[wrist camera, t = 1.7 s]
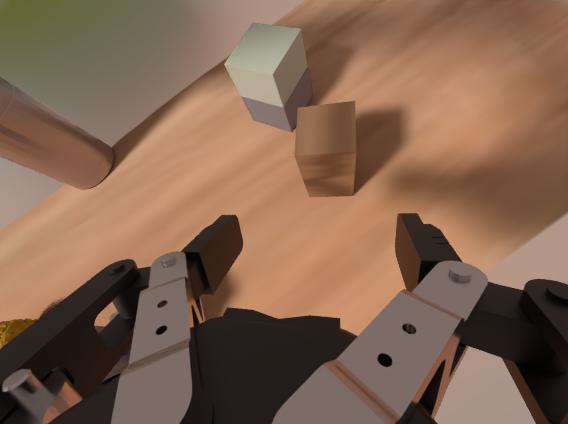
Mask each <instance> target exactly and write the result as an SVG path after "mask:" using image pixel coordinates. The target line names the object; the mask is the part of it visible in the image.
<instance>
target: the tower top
mask: <svg viewBox="0 0 568 424" xmlns="http://www.w3.org/2000/svg"><path fill="white" fill-rule="evenodd" d="M224 65H225V67H226V69H227V71H228V73H229V75H230V77H231V79H232V80H233V82H234V84H235V86H236V88H237V90H238V92H239V94H240V96H242V97H246V98H250V99H253V100H257V101H261V102H265V103H268V104H272V105H276V106H280V107H284V106H285V104H286V102H287V101H288V99H289V97H290V96H291V94H292V92H293V91H294V89H295V87H296V85H297V84H298V82H299V80H300V79H301V77H302V75H303V74H304V72H305V70H306V69H307V67H308V66H307V60H306V54H305V48H304V42H303V36H302V30H301V29H299V28H291V27H283V26H275V25H266V24H259V23H252V24H251V26H250V27H249V29H248V30H247V32H246V33H245V34H244V36H243V37H242V39H241V41H240V42H239V43H238V45H237V46H236V48H235V49H234V51H233V52H232V54H231V55H230V56H229V58H228V59H227V61H226V62H225V64H224Z"/></svg>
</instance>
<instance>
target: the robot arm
mask: <svg viewBox="0 0 568 424" xmlns="http://www.w3.org/2000/svg"><path fill="white" fill-rule="evenodd" d="M0 157H2V158H4V159H7V160H9V161H12V162H14V163H17V164H19V165H21V166H24V167H26V168H29V169H31V170H34V171H36V172H39V173H41V174H44V175H46V176H49V177H51V178H53V179H56V180H58V181H61V182H63V183H65V184H68V185H70V186H73V187H75V188H78V189H89V188H91V187H93V186H95V185H97V184H98V183H100V182H101V181H102V180H103V179H104V178H105V177H106V175H107V174H108V173H109V171H110V169H111V167H112V165H113V161H114V153H113V150H112V148H111V147H110V146H108V145H107V144H105V143H103V142H102V141H101V140H99V139H97V138H96V137H94V136H93V135H91V134H89V133H88V132H86V131H85V130H83V129H82V128H80V127H79V126H77V125H76V124H74V123H72V122H71V121H69V120H68V119H66V118H65V117H63V116H61V115H60V114H58V113H57V112H55V111H54V110H52V109H50V108H49V107H47V106H46V105H44V104H42V103H41V102H39V101H38V100H36V99H35V98H33V97H32V96H30V95H29V94H27V93H25V92H24V91H22V90H21V89H19V88H18V87H16V86H15V85H13V84H11V83H10V82H8V81H6V80H5V79H3V78H2V77H0ZM242 248H243V239H242V234H241V230H240V226H239V221H238V218H237V216H236V215H221V216H220V217H219V218H218V219H217V220H216V221H215V222H214V223H213V224H212V225H210V226H208V227H206V228H205V229H204V230H202V231H201V232H200V233H199V235H197V236H196V237H195V239H193V240H192V241H191V242H190V243H189V244H188V245H187V246H186V247H185V248H184V249H183V250H182V251H181V252H171V253H167V254H165V255H162V256H161V257H159V258H157V259H156V260H155V261H154V262H153V263H152V265H151V267H145V268H139V269H138V268H137V265H136V263H135V261H134V260H131V259H126V260H121V261H118V262H115V263H113V264H111V265H109V266H107V267H106V268H104V269H103V270H102V271H100V272H99V273H98V274H96V275H95V276H94V277H93V278H91V279H90V280H89V281H87V282H86V283H85V284H83V285H82V286H81V287H80V288H78V289H77V290H76V291H74V292H73V293H72V294H71V295H69V296H68V297H67V298H65V299H64V300H63V301H61V302H60V303H59V304H58V305H56V306H55V307H54V308H52V309H51V310H50V311H49V312H47V313H46V314H45V315H43V316H42V317H41V318H39V319H38V320H37V321H36V322H34V323H33V324H32V325H30V326H29V327H28V328H27V329H25V330H24V331H23V332H21V333H20V334H19V335H17V336H16V337H15V338H14V339H12V340H11V341H10V342H8V343H7V344H6V345H5V346H3V347H2V348H1V349H0V424H437V422H436V421H435V420H434V418H435V416H436V414H437V411H438V409H439V407H440V405H441V402H442V400H443V397H444V394H445V392H446V390H447V387H448V385H449V383H450V381H451V380H452V378H453V376H454V374H455V372H456V370H457V368H458V366H459V364H460V362H461V361H462V359H463V357H464V355H465V353H466V351H467V349H468V347H469V346H470V347H473V348H476V349H479V350H482V351H484V352H487V353H490V354H493V355H496V356H499V357H501V358H502V359H503V361H504V363H505V365H506V367H507V369H508V370H509V372H510V374H511V376H512V378H513V380H514V382H515V384H516V386H517V388H518V390H519V392H520V394H521V395H522V398H523V399H524V401H525V403H526V405H527V407H528V409H529V411H530V413H531V415H532V416H533V419H534V421H535V422H536V424H568V285H567V284H564V283H561V282H557V281H553V280H546V279H534V280H530V281H528V282H527V283H526V284H525V287H524V289H523V290H519V289H515V288H511V287H506V286H502V285H498V284H494V283H491V282H488V279H487V277H486V275H485V274H484V273H483V272H482V271H481V270H479V269H478V268H476V267H474V266H472V265H469V264H467V263H463V262H462V261H461V259H460V258H459V256H458V255H457V253H456V252H455V250H454V249H453V248H452V246H451V245H450V244H449V242H448V240H447V239H446V238H445V236H444V235H443V233H442V232H441V230H439V229H438V228H436V227H435V226H433V225H431V224H423V222H422V221H421V219H420V217H419V216H418V214H417V213H402V214H398V217H397V227H396V239H395V253H396V257H397V261H398V264H399V267H400V270H401V273H402V277H403V280H404V283H405V286H406V290H405V289H404V290H402V291H400V292H399V293H398V294H397V295H396V296H395V297H394V299H393V300H392V301H391V302H390V303H389V304H388V305H387V306H386V307H385V308H384V309H383V310H382V311H381V312H380V313H379V315H378V316H377V317H376V318H375V319H374V320H373V321H372V322H371V323H370V324H369V325H368V326H367V327H366V328H365V329H364V330H363V332H362V333H361V334H360V335H359V336H356V335H354V334H353V333H350V332H348V331H346V330H343V329H341V328H340V318H331V317H321V316H310V315H309V316H301V317H292V318H284V319H277V318H274V317H271V316H268V315H265V314H263V313H260V312H257V311H254V310H248V309H238V308H228V307H227V309H226V311H225V313H224V315H223V316H222V317H217V318H213V319H210V320H207V321H205V318H204V312H203V306H202V301H201V299H200V296H201V295H202V294H212V295H213V294H214V292H215V290H216V289H217V287H218V286H219V284H220V283H221V281H222V280H223V278H224V277H225V275H226V274H227V272H228V271H229V269H230V268H231V266H232V265H233V263H234V262H235V260H236V259H237V257H238V255H239V254H240V252H241V251H242ZM111 302H113V304H114V305H115V307H116V309H117V311H118V312H119V313H118V314H117V315H116V316H115V317H114V318H113V319H112V320H111V321H110V322H109V324H108V325H107V326H106V327H105V328H104V329H103V330H102V331H101V332H100V333H99V334H98V332H97V330H96V329H95V326H94V322H95V319H96V317H97V315H98V314H99V313H100V312H101V311H102V310H103V309H104V308H105V307H106V306H107V305H109V304H110V303H111ZM131 344H132V346H131ZM130 346H131V352H130V358H129V364H128V366H127V368H126V369H124V370H123V371H122V373H121V375H119V376H118V377H116V378H115V379H113V380H112V381H110V382H109V383H107V384H106V385H104V386H103V387H101V388H100V389H98V390H96V389H97V387H98V386H99V385H100V384H101V382H102V381H103V380H104V379H105V377H106V376H107V375H108V374H109V372H110V371H111V370H112V368H113V367H114V366H115V365H116V363H117V362H118V361H119V360H120V358H121V357H122V356H123V355H124V353H125V352H126V351H127V349H128V348H129V347H130ZM95 390H96V391H95ZM94 391H95V392H94Z"/></svg>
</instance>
